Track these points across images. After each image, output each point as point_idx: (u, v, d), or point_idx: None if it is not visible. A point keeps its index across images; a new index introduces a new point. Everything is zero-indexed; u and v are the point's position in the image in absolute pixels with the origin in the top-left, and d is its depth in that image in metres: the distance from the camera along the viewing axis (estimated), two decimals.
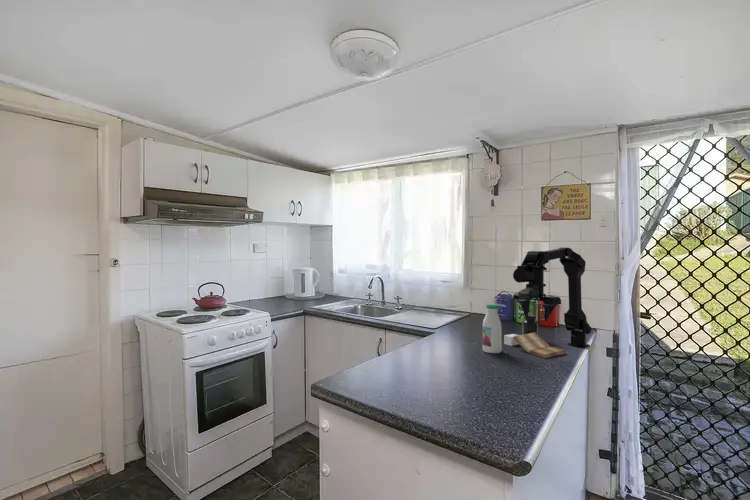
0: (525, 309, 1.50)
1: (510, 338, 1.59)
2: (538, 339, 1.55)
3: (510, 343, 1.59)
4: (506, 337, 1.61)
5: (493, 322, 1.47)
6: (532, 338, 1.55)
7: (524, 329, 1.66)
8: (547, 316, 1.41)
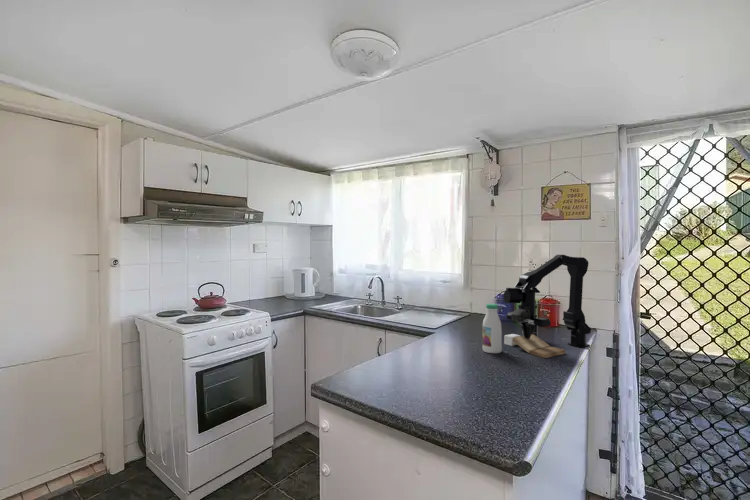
0: (525, 330, 1.55)
1: (510, 338, 1.59)
2: (537, 340, 1.55)
3: (510, 343, 1.59)
4: (506, 337, 1.61)
5: (493, 322, 1.47)
6: (531, 339, 1.55)
7: None
8: (529, 334, 1.54)
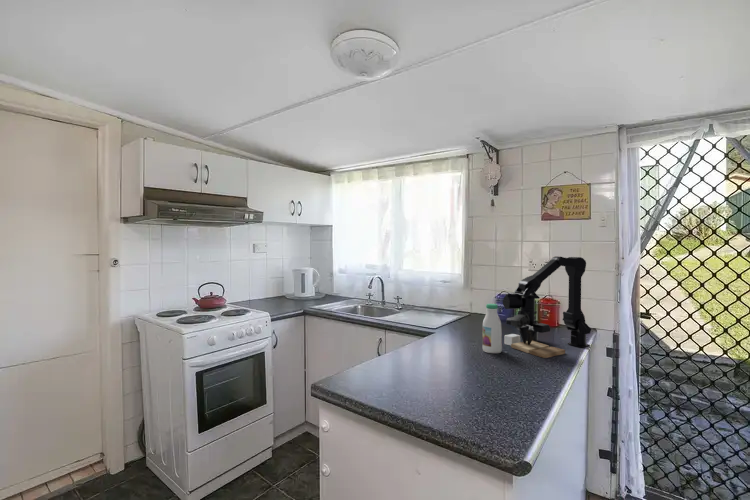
0: (523, 335, 1.56)
1: (510, 338, 1.59)
2: (536, 343, 1.56)
3: (510, 343, 1.59)
4: (506, 337, 1.61)
5: (493, 322, 1.47)
6: None
7: None
8: (530, 340, 1.54)
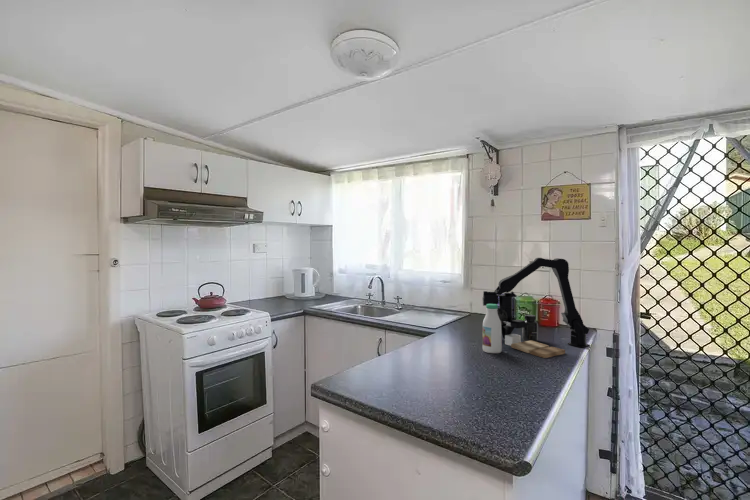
0: (503, 332, 1.65)
1: (511, 338, 1.58)
2: (536, 343, 1.56)
3: (511, 343, 1.58)
4: (507, 337, 1.60)
5: (493, 322, 1.47)
6: (529, 343, 1.56)
7: (524, 329, 1.66)
8: None
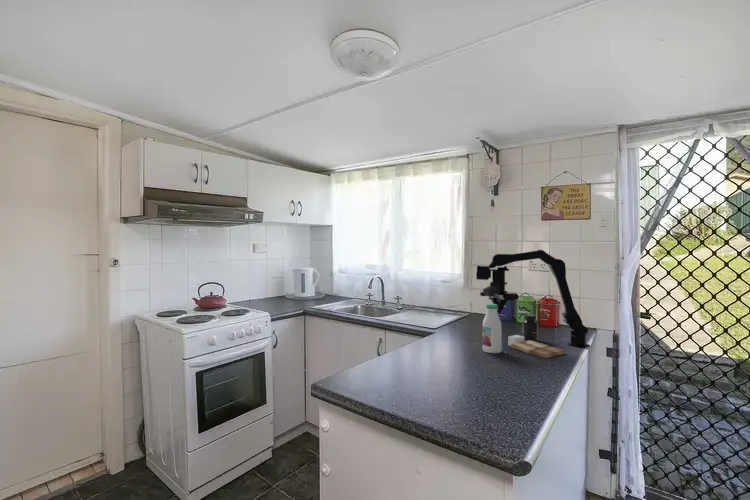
0: None
1: (514, 339, 1.57)
2: (536, 343, 1.56)
3: None
4: (510, 338, 1.59)
5: (493, 322, 1.47)
6: (529, 343, 1.56)
7: (524, 329, 1.66)
8: (500, 309, 1.67)
